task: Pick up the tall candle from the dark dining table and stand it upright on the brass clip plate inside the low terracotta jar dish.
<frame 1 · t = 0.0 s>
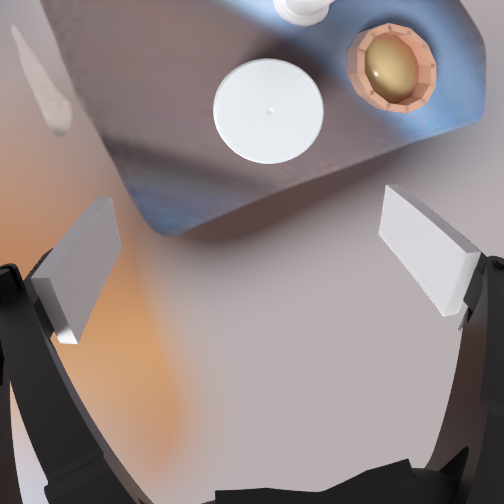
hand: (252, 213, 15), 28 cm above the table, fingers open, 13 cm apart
jar dish: (386, 67, 35), on the table
supplement tub: (254, 101, 38), on the table
candle: (300, 2, 31), on the table
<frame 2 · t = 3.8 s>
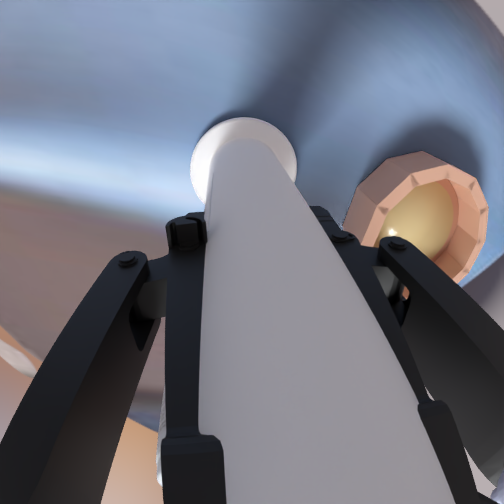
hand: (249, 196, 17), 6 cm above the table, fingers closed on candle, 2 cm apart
jar dish: (409, 223, 24), on the table
supplement tub: (224, 332, 29), on the table
candle: (243, 167, 21), on the table, touching gripper
when the fingers open (7 cm above the table, at t = 9.0 s): candle moves 1 cm, resting on jar dish.
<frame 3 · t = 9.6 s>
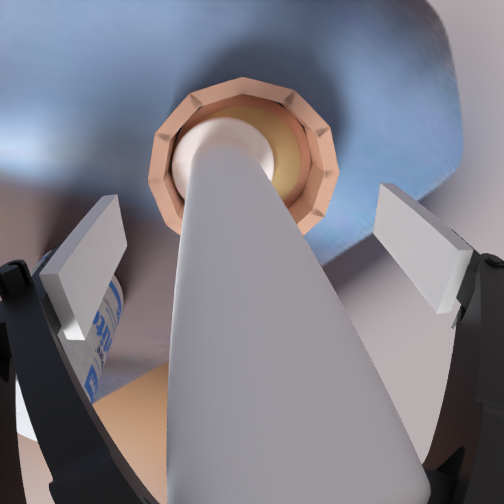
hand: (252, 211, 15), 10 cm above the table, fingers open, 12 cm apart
jar dish: (241, 161, 23), on the table
supplement tub: (80, 284, 28), on the table
candle: (222, 165, 22), point 1 cm above the table, touching jar dish
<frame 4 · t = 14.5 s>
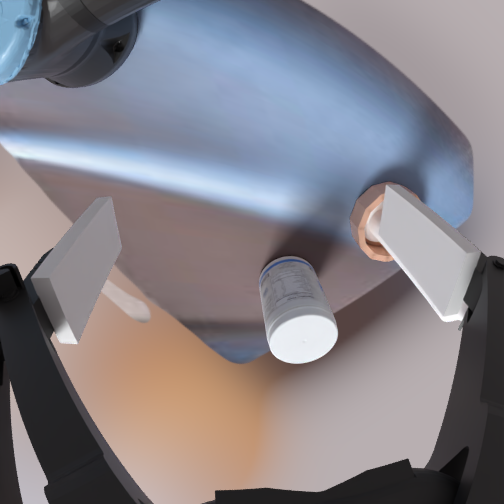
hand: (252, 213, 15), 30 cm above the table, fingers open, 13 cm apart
jar dish: (384, 217, 49), on the table
supplement tub: (286, 277, 53), on the table
candle: (378, 219, 48), point 1 cm above the table, touching jar dish
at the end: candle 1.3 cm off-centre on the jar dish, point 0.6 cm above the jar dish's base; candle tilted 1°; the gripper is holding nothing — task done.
